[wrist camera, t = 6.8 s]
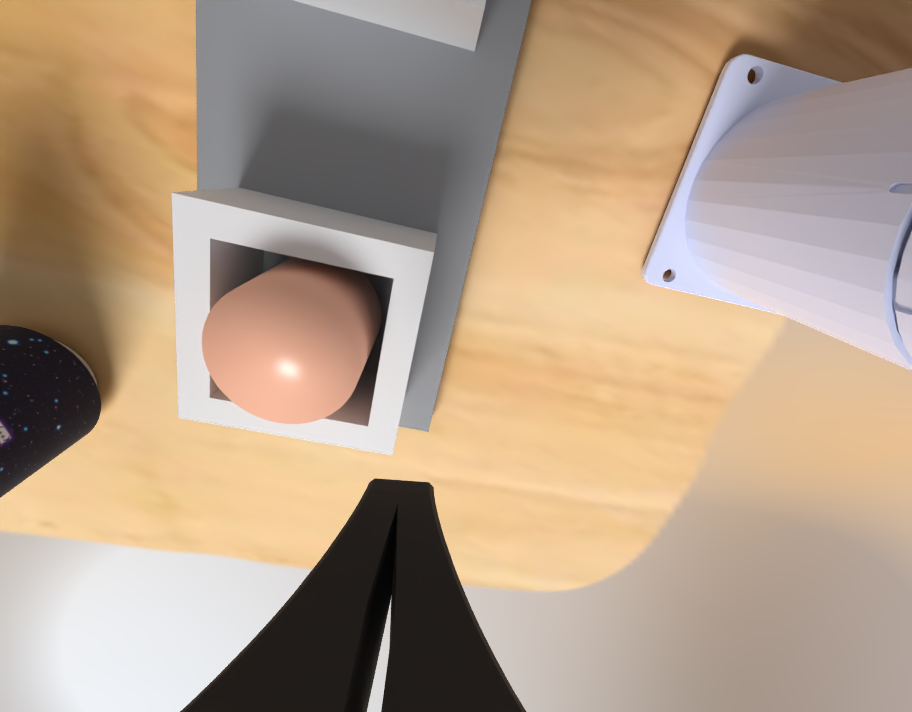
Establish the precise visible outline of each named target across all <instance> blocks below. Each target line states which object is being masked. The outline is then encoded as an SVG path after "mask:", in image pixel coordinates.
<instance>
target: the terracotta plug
mask: <svg viewBox="0 0 912 712" xmlns="http://www.w3.org/2000/svg"><path fill="white" fill-rule="evenodd" d="M380 326H381V307H380V302H379V299H378V296H377V293H376V291H375V289H374V287H373V286H372V284H371V283H370V281H369V280H368V279H367V277H366V276H365V275H364V274H363V273H362V272H361V271H357V270H352V269H348V268H343V267H338V266H334V265H329V264H325V263H320V262H316V261H311V260H306V259H302V258H297V257H292V258H289V259H287V260H286V261H284V262H282V263H280V264H278V265H277V266H275V267H273V268H271V269H269V270H268V271H266V272H264V273H262V274H260V275H259V276H257V277H255V278H253V279H251V280H250V281H248V282H246V283H244V284H242V285H241V286H239V287H237V288H235V289H234V290H232V291H230V292H229V293H227V294H226V295H224V296H223V297H222V298H221V299H220V300H219V301H218V302H217V303H216V304H215V305H214V306H213V308H212V309H211V311H210V312H209V314H208V316H207V319H206V321H205V323H204V328H203V332H202V352H203V356H204V361H205V364H206V366H207V369H208V371H209V373H210V375H211V377H212V379H213V380H214V382H215V383H216V385H217V386H218V388H219V389H220V390H221V391H222V392H223V393H224V394H225V395H226V396H227V397H228V398H229V399H230V400H231V401H232V402H233V403H235V404H236V405H237V406H239V407H240V408H242V409H243V410H245V411H247V412H248V413H250V414H252V415H255V416H257V417H259V418H262V419H265V420H268V421H272V422H276V423H284V424H302V423H309V422H314V421H317V420H320V419H323V418H325V417H327V416H329V415H331V414H332V413H334V412H335V411H337V410H338V409H339V408H341V407H342V406H343V405H344V404H345V403H346V402H347V400H348V399H349V398H350V397H351V395H352V393H353V391H354V390H355V388H356V385H357V383H358V380H359V378H360V376H361V373H362V371H363V369H364V366H365V364H366V362H367V359H368V357H369V354H370V352H371V350H372V347H373V345H374V343H375V340H376V338H377V335H378V333H379V330H380Z"/></svg>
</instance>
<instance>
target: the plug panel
mask: <svg viewBox="0 0 912 712" xmlns="http://www.w3.org/2000/svg"><path fill="white" fill-rule="evenodd" d="M531 1H532V0H196V68H197V191H186V192H174V193H172V220H173V253H174V286H175V319H176V352H177V385H178V418H182V419H188V420H194V421H199V422H205V423H211V424H216V425H222V426H228V427H234V428H239V429H245V430H251V431H256V432H262V433H268V434H273V435H279V436H285V437H291V438H296V439H302V440H308V441H313V442H319V443H325V444H331V445H336V446H342V447H348V448H353V449H359V450H365V451H371V452H376V453H382V454H388V455H393V450H394V445H395V440H396V435H397V430H398V426H400V427H405V428H411V429H416V430H422V431H427V432H428V431H429V427H430V422H431V418H432V414H433V410H434V406H435V402H436V397H437V393H438V389H439V385H440V381H441V377H442V372H443V368H444V364H445V360H446V356H447V351H448V347H449V343H450V339H451V335H452V331H453V326H454V322H455V318H456V314H457V310H458V306H459V301H460V297H461V293H462V289H463V285H464V281H465V276H466V272H467V268H468V264H469V260H470V256H471V251H472V247H473V243H474V239H475V235H476V231H477V226H478V222H479V218H480V214H481V210H482V205H483V201H484V197H485V193H486V189H487V185H488V180H489V176H490V172H491V168H492V164H493V160H494V155H495V151H496V147H497V143H498V139H499V135H500V130H501V126H502V122H503V118H504V114H505V110H506V105H507V101H508V97H509V93H510V89H511V85H512V80H513V76H514V72H515V68H516V64H517V60H518V55H519V51H520V47H521V43H522V39H523V34H524V30H525V26H526V22H527V18H528V14H529V9H530V5H531ZM292 257H297V258H302V259H306V260H311V261H316V262H320V263H325V264H329V265H334V266H338V267H343V268H348V269H352V270H357V271H361V272H362V273H363V274H364V275H365V276H366V277H367V279H368V280H369V281H370V283H371V284H372V286H373V287H374V289H375V291H376V293H377V296H378V299H379V302H380V307H381V326H380V330H379V333H378V335H377V338H376V340H375V343H374V345H373V347H372V350H371V352H370V354H369V357H368V359H367V362H366V364H365V366H364V369H363V371H362V373H361V376H360V378H359V380H358V383H357V385H356V388H355V390H354V391H353V393H352V395H351V397H350V398H349V399H348V400H347V402H346V403H345V404H344V405H343V406H342V407H341V408H339V409H338V410H337V411H335V412H334V413H332V414H331V415H329V416H327V417H325V418H323V419H320V420H317V421H314V422H309V423H302V424H284V423H276V422H272V421H268V420H265V419H262V418H259V417H257V416H255V415H252V414H250V413H248V412H247V411H245V410H243V409H242V408H240V407H239V406H237V405H236V404H235V403H233V402H232V401H231V400H230V399H229V398H228V397H227V396H226V395H225V394H224V393H223V392H222V391H221V390H220V389H219V388H218V386H217V385H216V383H215V382H214V380H213V379H212V377H211V375H210V373H209V371H208V369H207V366H206V364H205V361H204V356H203V352H202V332H203V328H204V323H205V321H206V319H207V316H208V314H209V312H210V311H211V309H212V308H213V306H214V305H215V304H216V303H217V302H218V301H219V300H220V299H221V298H222V297H223V296H224V295H226V294H227V293H229V292H230V291H232V290H234V289H235V288H237V287H239V286H241V285H242V284H244V283H246V282H248V281H250V280H251V279H253V278H255V277H257V276H259V275H260V274H262V273H264V272H266V271H268V270H269V269H271V268H273V267H275V266H277V265H278V264H280V263H282V262H284V261H286V260H287V259H289V258H292Z"/></svg>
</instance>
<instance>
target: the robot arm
mask: <svg viewBox="0 0 912 712" xmlns="http://www.w3.org/2000/svg"><path fill="white" fill-rule="evenodd" d="M751 68H752V69H753V70H754V71H755V74H756V76H755V80H754V81H753V83H752V84H751V83H749V82H748V79H747V76H748V72H749V71H750V69H751ZM668 269H670V270H671V275H670V277H669V278H668V279H666V280H663V274H664V272H665V271H667V270H668ZM642 278H643V279H644V280H645V281H646V282H648V283H650V284H652V285H655V286H660V287H664V288H668V289H673V290H677V291H681V292H686V293H690V294H694V295H698V296H703V297H707V298H711V299H716V300H720V301H724V302H729V303H733V304H737V305H741V306H746V307H750V308H754V309H759V310H763V311H767V312H772V313H776V314H780V315H783V316H786V317H788V318H790V319H793V320H795V321H797V322H800V323H802V324H804V325H807V326H809V327H811V328H814V329H816V330H819V331H821V332H823V333H825V334H827V335H830V336H832V337H835V338H837V339H839V340H841V341H844V342H846V343H848V344H851V345H853V346H855V347H858V348H860V349H862V350H865V351H867V352H869V353H872V354H874V355H876V356H878V357H881V358H883V359H886V360H888V361H890V362H892V363H895V364H897V365H899V366H902V367H904V368H906V369H909V370H911V371H912V68H908V69H904V70H899V71H895V72H890V73H886V74H881V75H877V76H872V77H868V78H863V79H859V80H854V81H850V82H845V83H842V82H839V81H836V80H832V79H829V78H826V77H822V76H819V75H816V74H812V73H809V72H806V71H802V70H799V69H796V68H792V67H789V66H786V65H783V64H779V63H776V62H773V61H769V60H766V59H763V58H759V57H756V56H753V55H749V54H741V55H739V56H736V57H734V58H731V59H730V60H729V61H728V62H727V63H726V64H725V66H724V67H723V69H722V72H721V74H720V76H719V79H718V81H717V84H716V86H715V89H714V91H713V94H712V96H711V99H710V101H709V104H708V106H707V109H706V111H705V114H704V116H703V119H702V121H701V124H700V126H699V129H698V131H697V134H696V136H695V139H694V141H693V144H692V146H691V149H690V151H689V154H688V156H687V159H686V161H685V164H684V166H683V169H682V171H681V174H680V176H679V179H678V181H677V184H676V186H675V189H674V191H673V194H672V196H671V199H670V201H669V204H668V206H667V209H666V211H665V214H664V216H663V219H662V221H661V224H660V226H659V229H658V231H657V234H656V236H655V239H654V241H653V244H652V246H651V249H650V251H649V254H648V256H647V259H646V261H645V264H644V266H643V269H642ZM391 595H392V598H391ZM391 599H392V600H391ZM390 600H391V626H390V650H389V658H388V666H387V674H386V681H385V689H384V697H383V704H382V711H381V712H526V711H525V709H524V708H523V706H522V704H521V702H520V701H519V699H518V697H517V696H516V694H515V692H514V691H513V689H512V687H511V686H510V684H509V682H508V680H507V678H506V677H505V674H504V673H503V671H502V669H501V667H500V665H499V663H498V662H497V660H496V658H495V656H494V654H493V652H492V650H491V648H490V646H489V644H488V642H487V640H486V638H485V636H484V634H483V632H482V630H481V628H480V626H479V624H478V622H477V620H476V618H475V615H474V613H473V611H472V609H471V607H470V604H469V602H468V599H467V597H466V595H465V592H464V590H463V588H462V585H461V583H460V580H459V578H458V575H457V573H456V570H455V568H454V565H453V562H452V559H451V556H450V553H449V550H448V548H447V545H446V542H445V539H444V535H443V532H442V529H441V525H440V521H439V518H438V513H437V509H436V504H435V498H434V489H433V486H432V485H431V484H430V483H428V482H415V481H401V480H387V479H374V480H372V481H371V482H370V483H369V485H368V487H367V489H366V491H365V493H364V495H363V496H362V498H361V500H360V502H359V503H358V505H357V507H356V508H355V510H354V512H353V513H352V515H351V516H350V518H349V520H348V521H347V523H346V524H345V526H344V527H343V529H342V530H341V531H340V533H339V534H338V536H337V537H336V539H335V540H334V541H333V543H332V544H331V546H330V547H329V549H328V550H327V551H326V553H325V554H324V556H323V557H322V558H321V560H320V561H319V562H318V563H317V565H316V566H315V567H314V568H313V570H312V571H311V572H310V574H309V575H308V576H307V577H306V579H305V580H304V581H303V583H302V584H301V585H300V586H299V588H298V589H297V590H296V591H295V592H294V594H293V595H292V596H291V597H290V598H289V600H288V601H287V602H286V603H285V604H284V606H283V607H282V608H281V609H280V610H279V611H278V612H277V614H276V615H275V616H274V617H273V618H272V620H270V622H269V623H268V624H267V625H266V626H265V627H264V628H263V629H262V630H261V631H260V632H259V634H258V635H257V636H256V637H255V638H254V639H253V640H252V641H251V642H250V643H249V644H248V645H247V647H245V648H244V649H243V650H242V652H240V654H239V655H238V656H237V657H236V658H235V659H234V660H233V661H232V662H231V663H230V664H229V665H228V666H227V667H226V668H225V669H224V670H223V671H222V672H221V673H220V674H219V675H218V676H217V677H216V678H215V679H214V680H213V681H212V682H211V683H210V684H209V685H208V686H207V687H206V688H205V689H204V690H203V691H202V692H201V693H200V694H199V695H198V696H197V697H196V698H195V699H193V700H192V701H191V702H190V703H189V704H188V705H187V706H186V707H185V708H184V709H183V710H182V711H180V712H367V707H368V702H369V698H370V693H371V689H372V684H373V679H374V675H375V670H376V665H377V661H378V656H379V651H380V647H381V642H382V637H383V633H384V628H385V623H386V619H387V614H388V609H389V605H390Z"/></svg>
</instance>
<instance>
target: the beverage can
mask: <svg viewBox="0 0 912 712" xmlns="http://www.w3.org/2000/svg"><path fill="white" fill-rule="evenodd" d="M100 411H101V400H100V394H99V391H98V385H97V381H96V378H95V375H94V373H93V371H92V370H91V368H90V367H89V365H88V364H87V363H86V361H85V360H84V359H83V358H82V357H81V356H80V355H79V354H77V353H76V352H75V351H74V350H72V349H71V348H69V347H68V346H66V345H65V344H63V343H61V342H59V341H56V340H54V339H51V338H49V337H47V336H45V335H43V334H41V333H38V332H35V331H32V330H29V329H26V328H22V327H17V326H8V325H0V497H2V496H3V495H5V494H6V493H7V492H9V491H10V490H11V489H13V488H14V487H15V486H17V485H18V484H20V483H21V482H22V481H24V480H25V479H26V478H28V477H29V476H31V475H32V474H33V473H35V472H36V471H37V470H39V469H40V468H41V467H43V466H44V465H46V464H47V463H48V462H50V461H51V460H52V459H54V458H55V457H56V456H58V455H59V454H61V453H62V452H63V451H65V450H66V449H67V448H69V447H70V446H72V445H73V444H74V443H76V442H77V441H78V440H80V439H81V438H82V437H84V436H85V435H87V434H88V433H89V432H90V431H91V430H92V429H93V428H94V426H95V425H96V423H97V421H98V419H99V416H100Z"/></svg>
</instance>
